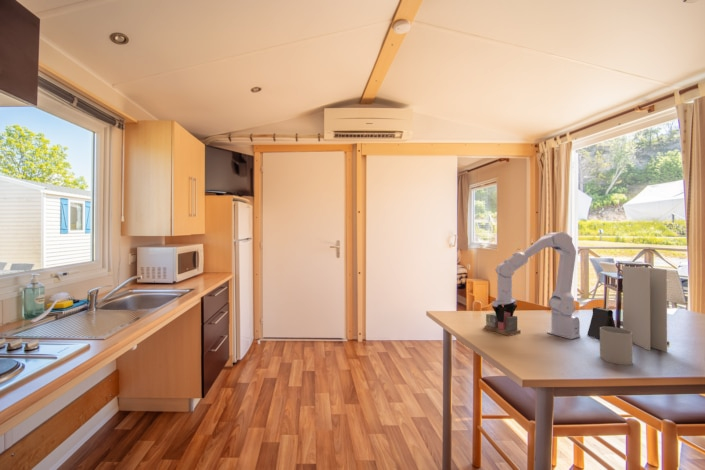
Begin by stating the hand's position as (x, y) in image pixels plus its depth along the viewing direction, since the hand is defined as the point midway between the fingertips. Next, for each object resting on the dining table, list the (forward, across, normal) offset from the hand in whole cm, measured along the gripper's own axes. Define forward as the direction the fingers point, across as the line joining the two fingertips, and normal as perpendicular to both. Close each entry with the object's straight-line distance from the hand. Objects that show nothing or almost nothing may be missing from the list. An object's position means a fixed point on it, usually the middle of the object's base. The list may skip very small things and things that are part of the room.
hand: (504, 321), depth 132 cm
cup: (+5, -5, +37) cm, 38 cm away
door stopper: (+5, -30, +24) cm, 39 cm away
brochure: (+5, -33, +36) cm, 49 cm away
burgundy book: (+3, 0, 0) cm, 3 cm away
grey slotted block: (+5, 0, -1) cm, 5 cm away
